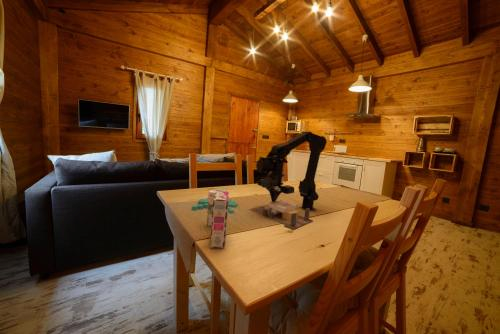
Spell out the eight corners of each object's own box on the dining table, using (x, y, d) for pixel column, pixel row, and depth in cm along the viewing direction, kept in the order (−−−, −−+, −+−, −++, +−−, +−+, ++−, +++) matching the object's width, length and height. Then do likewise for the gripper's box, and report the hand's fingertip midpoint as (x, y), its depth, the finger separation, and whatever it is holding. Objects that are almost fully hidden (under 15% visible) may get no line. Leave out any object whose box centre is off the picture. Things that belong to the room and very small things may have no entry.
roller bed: (268, 205, 121) (269, 194, 120) (312, 221, 102) (314, 209, 101) (247, 210, 109) (248, 199, 109) (293, 230, 91) (294, 216, 90)
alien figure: (233, 215, 103) (239, 203, 122) (233, 211, 102) (239, 199, 122) (191, 211, 105) (204, 199, 124) (191, 206, 104) (204, 195, 124)
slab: (280, 203, 111) (281, 199, 111) (296, 208, 105) (296, 204, 104) (268, 207, 104) (268, 202, 104) (283, 212, 98) (283, 208, 97)
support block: (288, 215, 105) (288, 208, 105) (297, 219, 102) (298, 211, 101) (282, 218, 102) (282, 210, 101) (291, 221, 98) (292, 213, 98)
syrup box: (225, 224, 92) (227, 190, 89) (218, 229, 86) (221, 193, 84) (213, 221, 93) (215, 188, 91) (206, 226, 88) (207, 191, 86)
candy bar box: (225, 249, 72) (228, 200, 70) (209, 248, 71) (212, 199, 69) (226, 233, 83) (228, 191, 81) (212, 233, 82) (215, 190, 80)
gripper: (251, 169, 106) (248, 200, 109) (282, 176, 93) (278, 212, 96) (266, 168, 114) (263, 197, 116) (296, 175, 101) (292, 207, 103)
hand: (273, 203), depth 108 cm, fingers closed
